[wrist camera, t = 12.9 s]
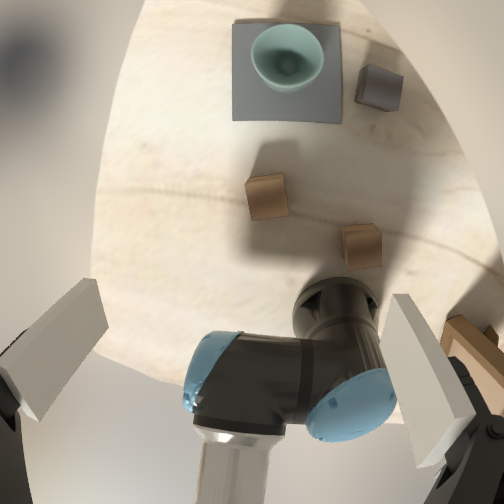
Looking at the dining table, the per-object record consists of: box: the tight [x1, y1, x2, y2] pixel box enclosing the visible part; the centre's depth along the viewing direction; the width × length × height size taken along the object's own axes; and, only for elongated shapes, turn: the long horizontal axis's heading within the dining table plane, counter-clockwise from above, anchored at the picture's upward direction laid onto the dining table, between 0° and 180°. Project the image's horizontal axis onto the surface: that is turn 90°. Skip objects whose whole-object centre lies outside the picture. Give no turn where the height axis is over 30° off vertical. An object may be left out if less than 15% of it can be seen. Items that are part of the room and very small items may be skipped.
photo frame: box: [440, 315, 504, 418], centre depth 41 cm, size 15×22×25 cm
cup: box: [251, 24, 324, 93], centre depth 31 cm, size 8×8×10 cm
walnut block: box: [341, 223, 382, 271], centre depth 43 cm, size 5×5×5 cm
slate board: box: [232, 23, 341, 124], centre depth 36 cm, size 15×15×1 cm
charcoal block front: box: [354, 65, 404, 112], centre depth 34 cm, size 5×5×5 cm
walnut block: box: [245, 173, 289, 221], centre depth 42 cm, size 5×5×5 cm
